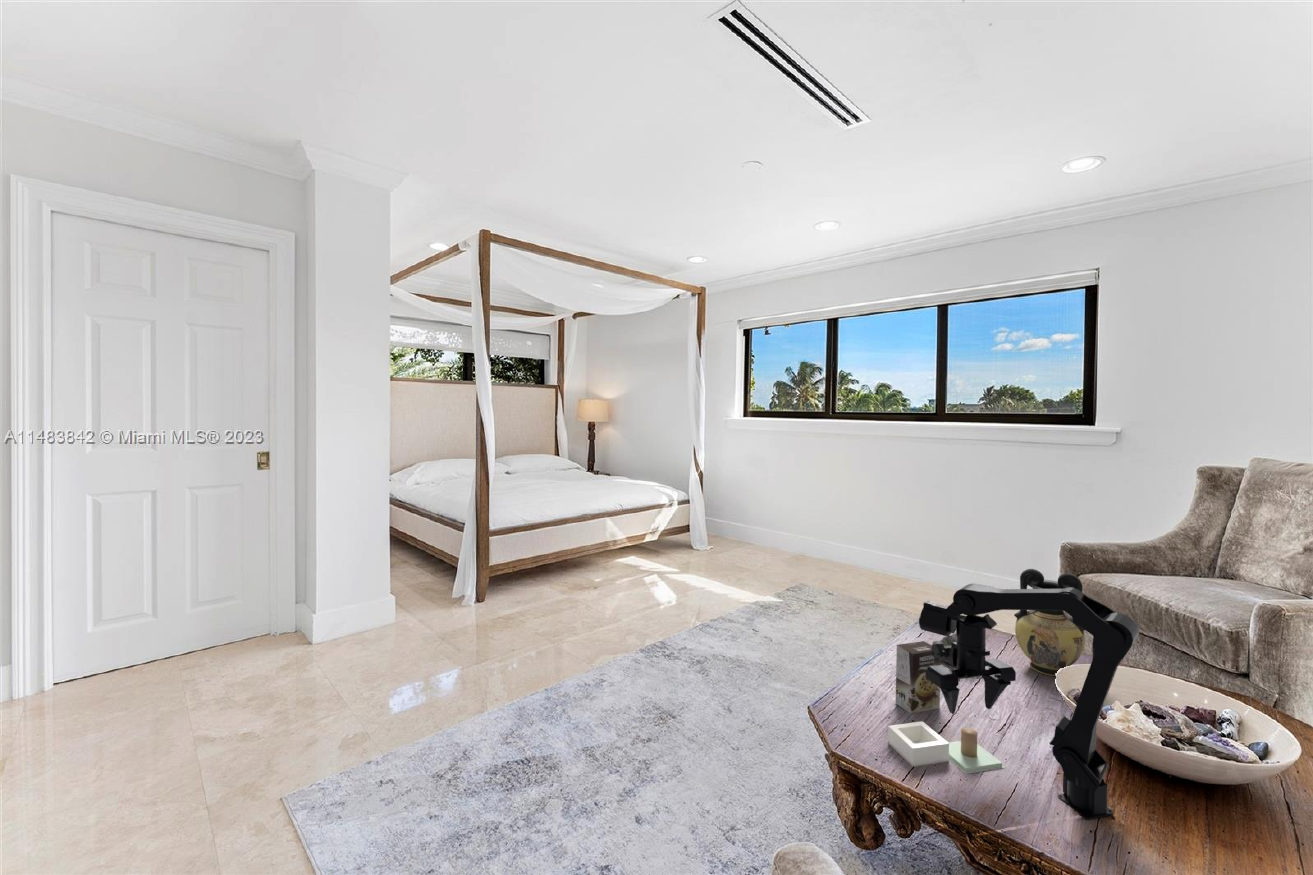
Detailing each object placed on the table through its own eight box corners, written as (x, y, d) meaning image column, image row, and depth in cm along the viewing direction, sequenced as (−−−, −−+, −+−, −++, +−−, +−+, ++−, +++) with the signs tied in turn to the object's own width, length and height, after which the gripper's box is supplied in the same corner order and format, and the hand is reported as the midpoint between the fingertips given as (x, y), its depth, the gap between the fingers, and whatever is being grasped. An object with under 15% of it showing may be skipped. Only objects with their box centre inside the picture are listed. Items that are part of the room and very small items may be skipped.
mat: (1005, 769, 123) (1005, 767, 122) (965, 775, 121) (965, 773, 121) (971, 742, 132) (971, 741, 132) (934, 748, 130) (934, 746, 130)
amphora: (1015, 675, 165) (1017, 574, 164) (1011, 653, 180) (1013, 560, 178) (1090, 689, 156) (1092, 582, 155) (1080, 664, 171) (1082, 567, 170)
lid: (1002, 766, 123) (1002, 740, 123) (965, 772, 121) (966, 745, 121) (971, 742, 132) (971, 718, 131) (937, 747, 130) (937, 723, 130)
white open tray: (948, 763, 125) (949, 743, 125) (912, 768, 123) (912, 748, 123) (922, 739, 134) (922, 721, 134) (888, 744, 132) (888, 725, 132)
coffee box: (911, 715, 144) (912, 654, 143) (894, 703, 151) (895, 644, 150) (941, 710, 147) (941, 649, 146) (923, 698, 153) (923, 639, 152)
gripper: (980, 625, 135) (979, 688, 136) (910, 632, 131) (909, 697, 132) (1018, 643, 124) (1017, 713, 125) (942, 651, 120) (942, 723, 121)
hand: (970, 710), depth 126 cm, fingers open, 9 cm apart
